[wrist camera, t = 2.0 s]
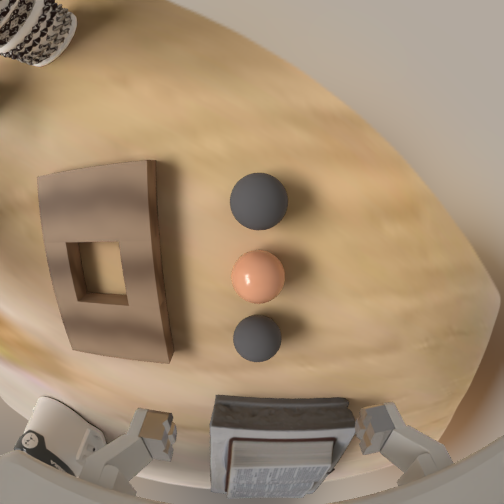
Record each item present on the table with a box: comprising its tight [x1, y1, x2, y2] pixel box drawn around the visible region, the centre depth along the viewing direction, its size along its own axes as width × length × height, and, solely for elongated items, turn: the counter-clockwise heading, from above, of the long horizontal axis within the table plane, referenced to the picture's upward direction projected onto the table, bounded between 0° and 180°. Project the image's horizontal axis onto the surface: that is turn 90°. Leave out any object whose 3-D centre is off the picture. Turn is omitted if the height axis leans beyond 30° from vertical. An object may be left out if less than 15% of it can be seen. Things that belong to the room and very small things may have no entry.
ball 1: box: [230, 173, 288, 230], centre depth 24 cm, size 5×5×5 cm
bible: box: [210, 395, 355, 498], centre depth 34 cm, size 23×27×10 cm
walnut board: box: [37, 160, 174, 364], centre depth 27 cm, size 22×14×2 cm, turn 0°
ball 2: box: [233, 315, 281, 362], centre depth 28 cm, size 5×5×5 cm
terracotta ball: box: [231, 250, 285, 304], centre depth 26 cm, size 5×5×5 cm
